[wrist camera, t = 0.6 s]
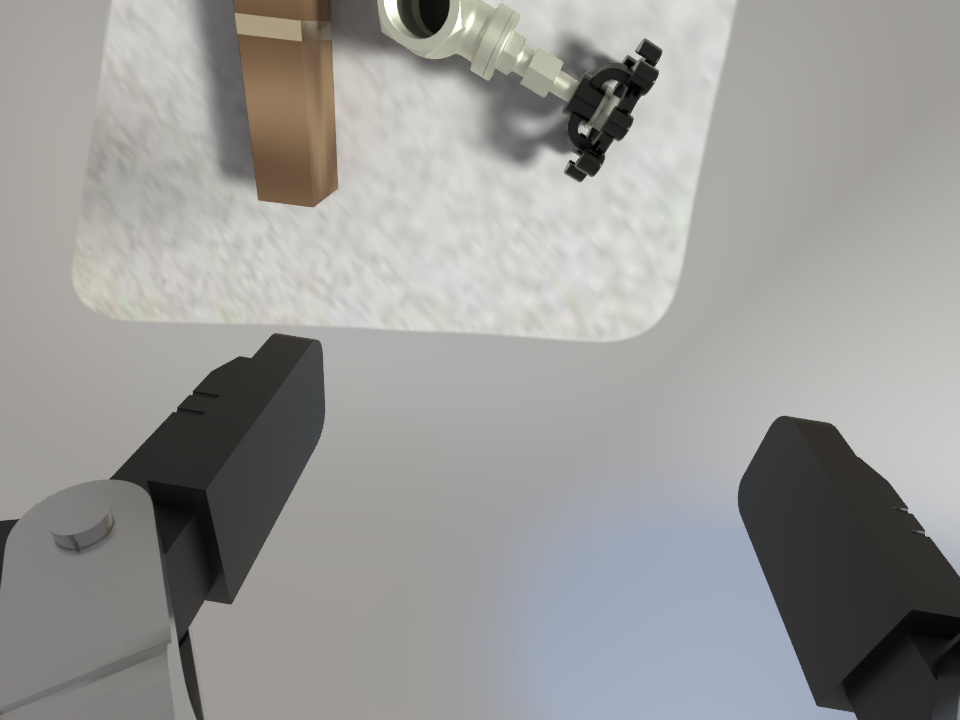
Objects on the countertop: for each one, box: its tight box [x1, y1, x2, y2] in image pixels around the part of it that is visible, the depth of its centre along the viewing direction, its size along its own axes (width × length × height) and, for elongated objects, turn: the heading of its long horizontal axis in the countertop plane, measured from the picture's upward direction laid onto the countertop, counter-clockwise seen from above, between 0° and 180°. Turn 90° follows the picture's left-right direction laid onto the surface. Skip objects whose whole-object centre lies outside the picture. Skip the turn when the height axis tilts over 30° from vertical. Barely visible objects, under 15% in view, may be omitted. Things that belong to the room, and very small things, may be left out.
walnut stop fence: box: [234, 0, 338, 207], centre depth 26 cm, size 16×3×4 cm, turn 174°
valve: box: [377, 0, 662, 182], centre depth 24 cm, size 7×7×12 cm
